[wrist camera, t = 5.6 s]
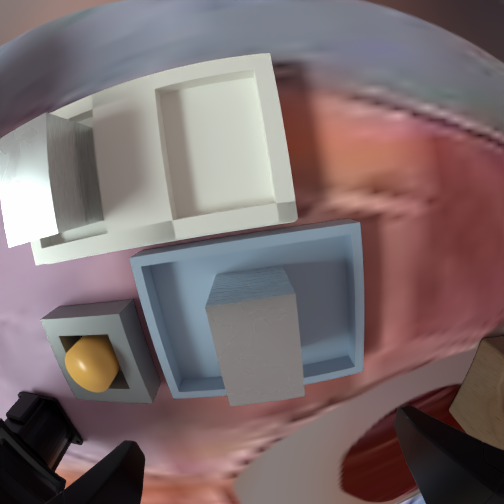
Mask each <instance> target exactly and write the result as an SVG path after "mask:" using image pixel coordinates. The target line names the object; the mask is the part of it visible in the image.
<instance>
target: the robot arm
mask: <svg viewBox="0 0 504 504" xmlns="http://www.w3.org/2000/svg"><path fill="white" fill-rule="evenodd" d="M18 397H19V399H18V401H17V402H16V403H15V404H14V405H13V406H12V407H11V408H10V410H9V411H8V412H7V413H6V416H7V419H6V420H5V421H3V420H2V419H1V418H0V504H140V502H141V497H142V490H143V478H144V467H145V456H144V454H143V452H142V451H141V449H140V447H139V446H138V444H137V443H136V442H135V441H127V440H126V441H123V442H122V443H121V444H120V445H119V446H117V447H116V448H115V449H114V450H113V451H111V452H110V453H109V454H108V455H107V456H106V457H104V458H103V459H102V460H101V461H99V462H98V463H97V464H96V465H95V466H93V467H92V468H91V469H90V470H88V471H87V472H86V473H85V474H84V475H82V476H81V477H80V478H79V479H77V480H76V481H75V482H73V483H72V484H71V485H70V486H68V487H67V488H66V489H64V488H65V484H66V480H65V479H64V478H62V477H60V476H59V475H58V474H57V473H55V470H56V468H57V467H58V465H59V463H60V461H61V460H62V458H63V456H64V454H65V453H66V451H67V449H68V447H69V446H70V444H71V443H74V444H78V445H82V444H83V440H82V438H81V437H80V435H79V434H78V432H77V431H76V429H75V428H74V426H73V425H72V423H71V422H70V420H69V418H68V417H67V415H66V413H65V412H64V410H63V408H62V407H61V405H60V403H59V402H58V400H57V399H55V398H52V397H45V396H40V395H34V394H29V393H24V392H19V394H18ZM394 427H395V431H396V434H397V436H398V439H399V442H400V445H401V448H402V451H403V454H404V457H405V460H406V462H407V465H408V467H409V469H410V471H411V473H412V475H413V477H414V479H415V481H416V483H417V485H418V488H419V490H420V492H421V494H422V496H423V498H424V500H425V503H426V504H504V450H502V449H499V448H497V447H495V446H492V445H490V444H488V443H486V442H483V441H481V440H479V439H477V438H475V437H473V436H470V435H468V434H466V433H464V432H462V431H460V430H458V429H456V428H454V427H452V426H450V425H448V424H446V423H444V422H442V421H440V420H438V419H436V418H434V417H432V416H430V415H429V414H427V413H425V412H423V411H421V410H419V409H417V408H415V407H413V406H412V405H409V404H408V405H404V406H402V407H399V408H398V409H397V413H396V417H395V422H394Z"/></svg>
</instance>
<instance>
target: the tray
mask: <svg viewBox="0 0 504 504" xmlns="http://www.w3.org/2000/svg"><path fill="white" fill-rule="evenodd" d="M130 262H131V267H132V271H133V275H134V279H135V283H136V287H137V290H138V294H139V298H140V301H141V305H142V308H143V312H144V315H145V319H146V322H147V325H148V329H149V332H150V335H151V338H152V341H153V344H154V347H155V350H156V353H157V356H158V359H159V362H160V365H161V367H162V370H163V373H164V376H165V378H166V381H167V384H168V386H169V389H170V391H171V394H172V397H173V399H179V398H200V397H215V396H227V393H226V389H225V386H224V382H223V378H222V374H221V371H220V367H219V363H218V359H217V355H216V351H215V347H214V343H213V339H212V335H211V330H210V326H209V322H208V318H207V313H206V309H205V306H206V303H207V300H208V297H209V294H210V291H211V288H212V285H213V282H214V279H215V276H216V274H223V273H229V272H236V271H243V270H249V269H256V268H262V267H269V266H275V265H282V266H283V268H284V270H285V272H286V274H287V276H288V279H289V281H290V283H291V285H292V287H293V289H294V291H295V294H296V303H297V312H298V322H299V332H300V343H301V354H302V365H303V377H304V385H305V384H311V383H316V382H321V381H325V380H330V379H334V378H339V377H343V376H347V375H351V374H355V373H359V372H363V358H364V273H363V253H362V238H361V226H360V222H358V221H355V220H352V219H343V220H336V221H329V222H321V223H314V224H307V225H301V226H294V227H287V228H280V229H274V230H267V231H260V232H254V233H247V234H241V235H234V236H228V237H222V238H215V239H209V240H203V241H197V242H191V243H185V244H179V245H173V246H167V247H161V248H155V249H149V250H143V251H140V252H138V253H137V254H135V255H133V256H132V257H130Z"/></svg>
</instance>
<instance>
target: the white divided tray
mask: <svg viewBox="0 0 504 504" xmlns="http://www.w3.org/2000/svg"><path fill="white" fill-rule="evenodd" d="M50 114H53V115H56V116H59V117H62V118H65V119H68V120H71V121H74V122H77V123H80V124H83V125H86V126H89V127H92V134H93V145H94V156H95V165H96V173H97V180H98V187H99V194H100V200H101V206H102V212H103V218H104V221H100V222H97V223H93V224H89V225H86V226H82V227H78V228H75V229H71V230H68V231H65V232H61V233H58V234H54V235H50V236H47V237H43V238H39V239H36V240H32V241H30V242H31V247H32V251H33V256H34V260H35V264H36V265H41V264H46V265H47V264H52V263H57V262H62V261H67V260H72V259H78V258H83V257H88V256H93V255H98V254H104V253H109V252H115V251H120V250H125V249H131V248H137V247H142V246H148V245H153V244H159V243H165V242H171V241H177V240H183V239H189V238H195V237H201V236H207V235H213V234H219V233H225V232H232V231H238V230H244V229H251V228H257V227H264V226H271V225H277V224H284V223H291V222H295V220H298V216H297V209H296V201H295V194H294V187H293V180H292V174H291V167H290V161H289V154H288V148H287V142H286V136H285V130H284V124H283V119H282V113H281V108H280V102H279V97H278V92H277V86H276V81H275V76H274V71H273V66H272V62H271V57H270V53H265V54H255V55H246V56H238V57H231V58H224V59H218V60H212V61H207V62H202V63H197V64H192V65H187V66H183V67H178V68H174V69H170V70H166V71H162V72H158V73H155V74H151V75H148V76H144V77H141V78H138V79H134V80H131V81H128V82H125V83H122V84H119V85H116V86H113V87H111V88H108V89H105V90H102V91H100V92H97V93H95V94H92V95H90V96H87V97H85V98H82V99H80V100H78V101H75V102H73V103H71V104H69V105H66V106H64V107H62V108H60V109H58V110H56V111H54V112H51V113H50Z"/></svg>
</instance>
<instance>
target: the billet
mask: <svg viewBox="0 0 504 504" xmlns="http://www.w3.org/2000/svg"><path fill="white" fill-rule="evenodd" d="M205 309H206V313H207V318H208V322H209V326H210V330H211V335H212V339H213V343H214V347H215V351H216V355H217V359H218V363H219V367H220V371H221V374H222V378H223V382H224V386H225V389H226V393H227V397H228V400H229V404H230V406H239V405H249V404H257V403H265V402H272V401H279V400H285V399H291V398H297V397H302V396H305V390H304V377H303V365H302V354H301V343H300V332H299V322H298V312H297V303H296V294H295V291H294V289H293V287H292V285H291V283H290V281H289V279H288V276H287V274H286V272H285V270H284V268H283V266H282V265H275V266H269V267H262V268H256V269H249V270H243V271H236V272H229V273H223V274H216V276H215V279H214V282H213V285H212V288H211V291H210V294H209V297H208V300H207V303H206V306H205Z"/></svg>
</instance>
